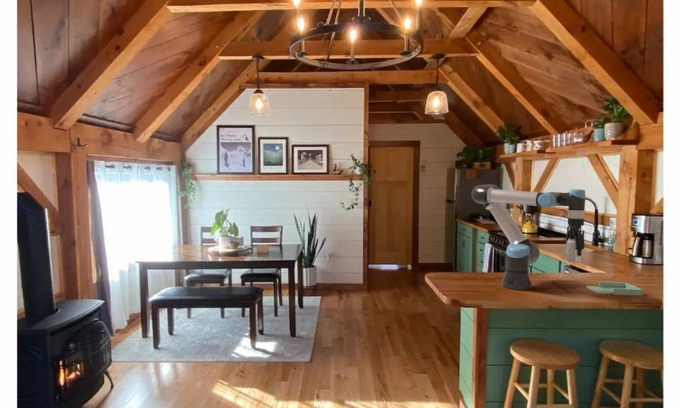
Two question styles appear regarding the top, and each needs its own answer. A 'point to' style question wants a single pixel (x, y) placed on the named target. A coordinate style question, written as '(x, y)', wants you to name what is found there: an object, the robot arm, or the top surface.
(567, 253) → the can
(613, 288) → the green open box
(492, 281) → the top surface
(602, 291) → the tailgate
